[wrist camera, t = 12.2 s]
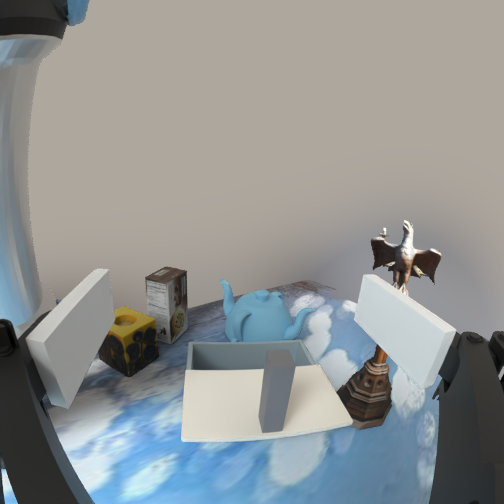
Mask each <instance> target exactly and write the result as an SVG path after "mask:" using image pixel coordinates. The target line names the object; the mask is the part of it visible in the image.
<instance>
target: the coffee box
mask: <svg viewBox="0 0 504 504" xmlns="http://www.w3.org/2000/svg"><path fill="white" fill-rule="evenodd" d="M186 273H187V271H185V270H179V269H176V268H171V267H164V268H162V269H160V270H158V271H156V272H154V273H152V274H151V275H149V276H147V277H145V279H146V293H147V305H148V316H150V317H153V318H155V321H156V338H157V340H159V341H162V342H165V343H168V344H173V343H174V342H175V341H176V340H177V339H178V338H179V337H180V336H181V335H182V334H183V333H184V332H185V331H186V330H187V329H188V307H187V275H186Z"/></svg>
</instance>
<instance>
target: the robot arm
mask: <svg viewBox="0 0 504 504" xmlns="http://www.w3.org/2000/svg"><path fill="white" fill-rule="evenodd" d="M88 3H89V0H0V504H5V501H4V494H3V485H2V473H1V468H6V471H7V475H8V478H9V481H10V484H11V486H12V489H13V492H14V495H15V497H16V500H17V502H18V504H95V503H94V502H93V500H92V499H91V497H90V496H89V494H88V493H87V491H86V489H85V488H84V486H83V484H82V483H81V481H80V479H79V478H78V476H77V474H76V472H75V471H74V469H73V467H72V465H71V463H70V461H69V459H68V457H67V455H66V453H65V451H64V449H63V447H62V445H61V443H60V441H59V439H58V436H57V434H56V432H55V430H54V427H53V425H52V422H51V420H50V417H49V415H48V412H47V410H46V407H45V405H44V403H43V401H42V399H43V397H44V395H45V393H47V396H48V398H49V400H50V402H51V404H52V405H56V406H59V407H63V408H67V409H70V406H71V404H72V402H73V400H74V398H75V396H76V393H77V391H78V389H79V387H80V385H81V383H82V381H83V379H84V377H85V375H86V373H87V371H88V369H89V367H90V365H91V363H92V361H93V359H94V358H95V356H96V354H97V352H98V350H99V348H100V346H101V344H102V343H103V341H104V339H105V337H106V335H107V334H108V332H109V330H110V328H111V326H112V325H113V323H114V321H115V314H114V307H113V299H112V290H111V281H110V270H109V269H95V270H94V271H93V272H92V273H91V274H89V276H87V277H86V278H85V279H84V280H83V281H82V282H81V283H80V284H79V285H78V286H77V287H75V288H74V289H73V290H72V291H71V292H70V293H69V294H68V295H67V296H66V297H65V298H64V299H63V300H62V301H60V300H55V297H54V295H53V293H52V291H51V290H50V288H48V287H47V286H46V285H45V284H44V283H42V282H40V280H39V275H38V270H37V264H36V259H35V253H34V246H33V239H32V231H31V222H30V211H29V195H28V145H29V144H28V143H29V130H30V119H31V118H30V117H31V109H32V101H33V95H34V89H35V84H36V78H37V73H38V68H39V65H40V63H41V62H42V60H43V59H44V58H45V57H46V56H48V55H49V54H50V53H51V52H52V51H53V50H55V49H56V48H57V47H58V46H59V45H60V44H61V42H62V39H63V35H64V32H65V29H66V26H67V25H69V26H74V25H76V24H80V23H82V22H83V21H84V19H85V16H86V11H87V8H88ZM354 320H355V321H356V322H357V323H358V324H359V325H360V326H361V327H362V328H363V329H364V331H365V332H366V333H367V334H368V335H369V336H370V337H371V338H372V339H373V340H374V341H375V342H376V343H377V344H378V345H379V346H380V347H381V348H382V349H383V350H384V351H385V352H386V353H387V355H388V356H389V357H390V358H391V359H392V360H393V361H394V362H395V363H396V364H397V365H398V366H399V367H400V368H401V369H402V370H403V371H404V373H405V374H406V375H407V376H408V377H409V378H410V379H411V380H412V381H413V382H414V383H415V384H416V385H417V387H418V388H419V389H420V390H422V389H424V388H427V387H430V386H432V385H433V383H434V381H435V379H436V377H437V375H438V374H439V375H440V376H441V377H442V380H441V382H440V384H439V386H438V387H437V389H436V391H435V393H434V395H433V398H432V399H435V397H436V396H437V395H439V397H438V399H437V400H439V431H438V445H437V456H436V465H435V472H434V479H433V485H432V491H431V496H430V501H429V504H504V374H503V376H502V378H501V380H499V377H498V375H499V373H500V371H501V369H502V367H503V366H504V332H503V331H501V332H500V331H495V332H493V335H492V337H491V339H490V342H486V341H485V340H484V338H483V337H482V336H480V335H478V334H477V333H474V332H463V333H462V334H461V335H460V334H459V333H457V332H456V329H455V328H453V327H452V326H450V325H449V324H448V323H446V322H445V321H443V320H442V319H440V318H439V317H438V316H436V315H435V314H433V313H432V312H430V311H429V310H427V309H426V308H424V307H423V306H422V305H420V304H419V303H417V302H416V301H414V300H413V299H411V298H410V297H408V296H407V295H405V294H404V293H402V292H401V291H399V290H398V289H396V288H395V287H393V286H392V285H390V284H388V283H387V282H385V281H384V280H382V279H381V278H379V277H378V276H376V275H363V280H362V285H361V290H360V295H359V299H358V304H357V308H356V312H355V317H354Z"/></svg>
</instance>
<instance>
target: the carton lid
mask: <svg viewBox="0 0 504 504" xmlns="http://www.w3.org/2000/svg"><path fill="white" fill-rule="evenodd" d="M352 423H353V420H352V418H351V417H350V415H349V413H348V411H347V410H346V408H345V406H344V405H343V403H342V401H341V400H340V398H339V396H338V395H337V393H336V391H335V390H334V388H333V386H332V385H331V383H330V381H329V379H328V378H327V376H326V374H325V373H324V371H323V369H322V368H321V366H320V364H318V365H309V366H298V367H296V365H295V362H294V360H293V358H292V356H291V354H290V352H289V350H270V351H266V355H265V364H264V369H252V370H185V383H184V397H183V413H182V432H181V439H182V441H183V442H236V441H253V440H265V439H275V438H283V437H291V436H298V435H304V434H310V433H316V432H321V431H326V430H331V429H336V428H341V427H345V426H349V425H352Z"/></svg>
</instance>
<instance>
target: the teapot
mask: <svg viewBox="0 0 504 504" xmlns="http://www.w3.org/2000/svg"><path fill="white" fill-rule="evenodd" d="M220 282H221V284H222V286H223V288H224V303H223V309H224V313H225V316H226V317H227V320H226V324H225V334H226V336H227V338H228V339H229V340H230V342H260V341H284V340H293V339H294V338H296V337H297V336H298V335H299V333H300V332H301V329H302V326H303V322H304V319H305V317H306V316H307V315H308V314H309V313H311V312H313V311H315V310H316V309H313V308H305V309H302V310H301V311H300V312H299V313H298V315H297V318H296V320H295V323H294V324H292V319H291V316H290V314H289V312H288V310H287V308H286V306H285V304H284V302H283V295H282V294H281V293H280V292H273V293H271V294H270V293H269V292H268V291H266V290H256V291H255V292H252V293H248V294H245V295H243V296H242V297H241V298H240V299H239V300H238V301H237V302H236V303H235V302H234V299H233V293H232V290H231V287H230V285H229V284H228V283H227V282H226V281H224V280H221V279H220Z"/></svg>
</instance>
